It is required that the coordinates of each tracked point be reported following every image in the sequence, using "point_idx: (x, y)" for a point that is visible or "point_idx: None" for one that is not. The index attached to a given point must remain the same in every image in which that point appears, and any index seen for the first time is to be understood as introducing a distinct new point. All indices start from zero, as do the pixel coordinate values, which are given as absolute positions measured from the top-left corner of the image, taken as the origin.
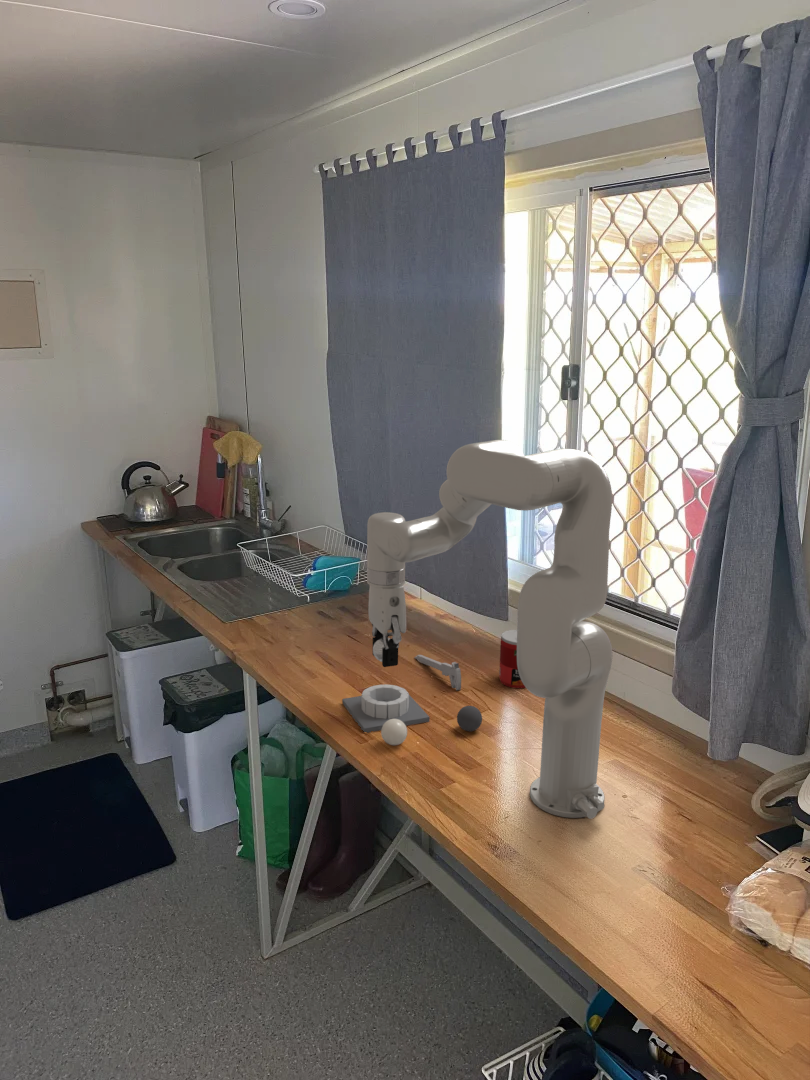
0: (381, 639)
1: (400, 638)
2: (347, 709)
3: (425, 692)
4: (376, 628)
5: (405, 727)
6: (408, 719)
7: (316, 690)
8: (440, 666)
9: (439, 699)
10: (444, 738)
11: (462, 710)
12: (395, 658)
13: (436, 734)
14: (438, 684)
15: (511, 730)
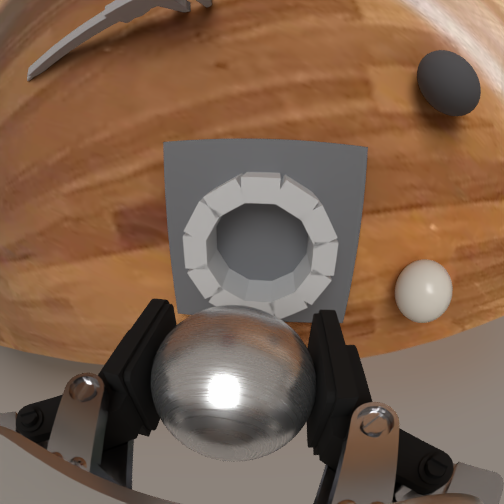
0: (222, 459)
1: (499, 486)
2: None
3: (184, 81)
4: (128, 484)
5: (448, 277)
6: (356, 209)
7: (116, 324)
8: (106, 20)
9: (242, 59)
10: (445, 162)
11: (464, 100)
12: (359, 359)
13: (424, 168)
14: (153, 39)
15: (450, 21)
